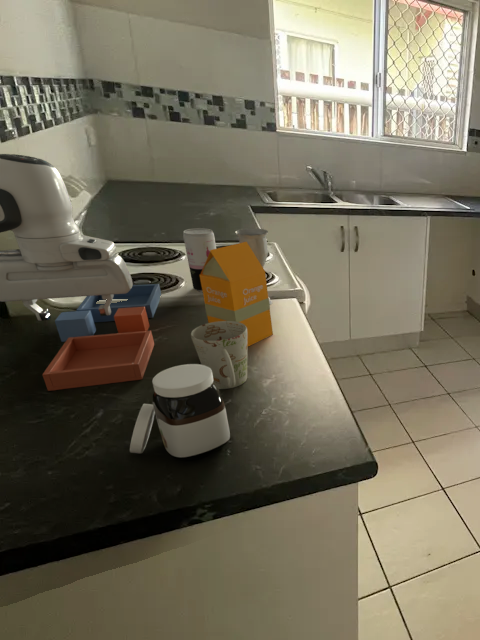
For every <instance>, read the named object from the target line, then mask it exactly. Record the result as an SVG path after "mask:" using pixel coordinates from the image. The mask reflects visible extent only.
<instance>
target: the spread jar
mask: <svg viewBox="0 0 480 640" xmlns="http://www.w3.org/2000/svg"><path fill="white" fill-rule="evenodd" d="M151 383H152V387H153V391H154V392H153V394H152V403H142V406H141V407H140V409H139V412H138V415H137V418H136V421H135V425H134V427H133V432H132V435H131V440H130V445H129V453H130V454H143V453H144V451H145V449H146V447H147V444H148V441H149V438H150V436H151V435H150V434H151V432H152V427H153V424H154V420H155V418H156V422H157V426H158V430H159V433H160V437H161V440H162V443H163V446H164V448H165V451H166V453H167V454H168V455H169V456H170V457H171V458H172V459H175V460H179V461H195V460H199V459H202V458H205V457H208V456H210V455H212V454H215V453H216V452H218V451H219V450H221V449H222V448H223V447H225V446H226V445H227V444H228V442H229V441H230V438H231V433H230V425H229V421H228V414H227V409H226V405H225V401H224V399H223V396H222V393H221V391H220V389H218V387H217V386H216V384H215V383H214V382H213V374H212V370H211V369H210V368H209V367H207V366H205V365H201V364H199V363H187V364H179V365H175V366H172V367H169V368H166V369H163V370H161V371H160V372H158V373H157V374H156V375H154V377H153V378H152V381H151Z"/></svg>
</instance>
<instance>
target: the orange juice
mask: <svg viewBox="0 0 480 640" xmlns="http://www.w3.org/2000/svg"><path fill="white" fill-rule="evenodd" d="M200 280H201V286H202V291H203V292H202V296H203V302H204V308H205V313H206V318H207V323H211V322H218V321H235V322H240V323H242V324H244V325H245V326H246V327H247V348H248V347H250V346H252V345H254V344H256V343H259V342H261V341H263V340H264V339H267V338H269V337H270V336H273V334H274V333H273V332H274V331H273V324H272V316H271V305H269V298H270V297H269V298H268V296H269V292H268V284H267V283H268V282H267V276H266V270H265V269H264V267H262V265H261V264H260V262H259V261H258V259H257V258H256V256H255V254H254V253H253V251H252V250H251V248H250V246H249V245H248V243H247V242H243V243H239V242H238V243H234V244H231V245H226V246H222V247H218V248H217V247H216V249H213V250H210V253H209V255H208V258H207V260H206V262H205V265H204V267H203V269H202V272H201V274H200Z"/></svg>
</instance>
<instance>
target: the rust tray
mask: <svg viewBox="0 0 480 640" xmlns="http://www.w3.org/2000/svg"><path fill="white" fill-rule="evenodd" d="M154 346H155V340H154V337H153V333H152V330H148V331H139V332H127V333H118V332H117V333H116V332H115V333H105V334H94V335H93V336H81V337H69V338H68V339H67V340H66V342H63V345H62V346H61V347H60V349H59V350H58V351H57V353H56V354H55V356H54V357H53V359H52V360H51V362H50V363H49V364H48V366H47V367H46V368H45V370H44V372H43V373H42V374H41V375H42V378H43V380H44V383H45V386H46V389H47V391H48V392H50V391H60V390H68V389H74V388H75V389H76V388H83V387H93V386H100V385H107V384H116V383H124V382H125V383H126V382H132V381H140V380H143V378H144V376H145V373H146V370H147V367H148V365H149V361H150V359H151V356H152V352H153V350H154Z"/></svg>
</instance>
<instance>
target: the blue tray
mask: <svg viewBox="0 0 480 640" xmlns="http://www.w3.org/2000/svg"><path fill="white" fill-rule="evenodd" d="M113 295H114V297H113V299H128V300H127V301H122V302H121V301H120V302H117V303H111V304H110V309H111V314H110V315H106V316H101V315H100V312H99V309H98V308H99V307H100V305H105V304H96V302H97V301H99V300H103V299H102V295H96V296H85V298H84V299H83V301H82V302H81V303H80V305H78V307H77V308H76V310H75V311H88V310H90V311H91V314H92V317H93V321H94V323H105V322H106V323H107V322H115V319H114V315H115V314H116V312H117V310H118V308H132V307H145V309H146V313H147V317H148V319H153V318H154V316H155V314H156V312H157V309H158V306H159V304H160V301H161V299H160V296H161V295H162V291H161V287H160V283H152V284H151V283H149V284H147V283H146V284H133V286H132V288H131V290H130V291H129V292H128V293H125V294H113ZM161 297H162V296H161Z"/></svg>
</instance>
